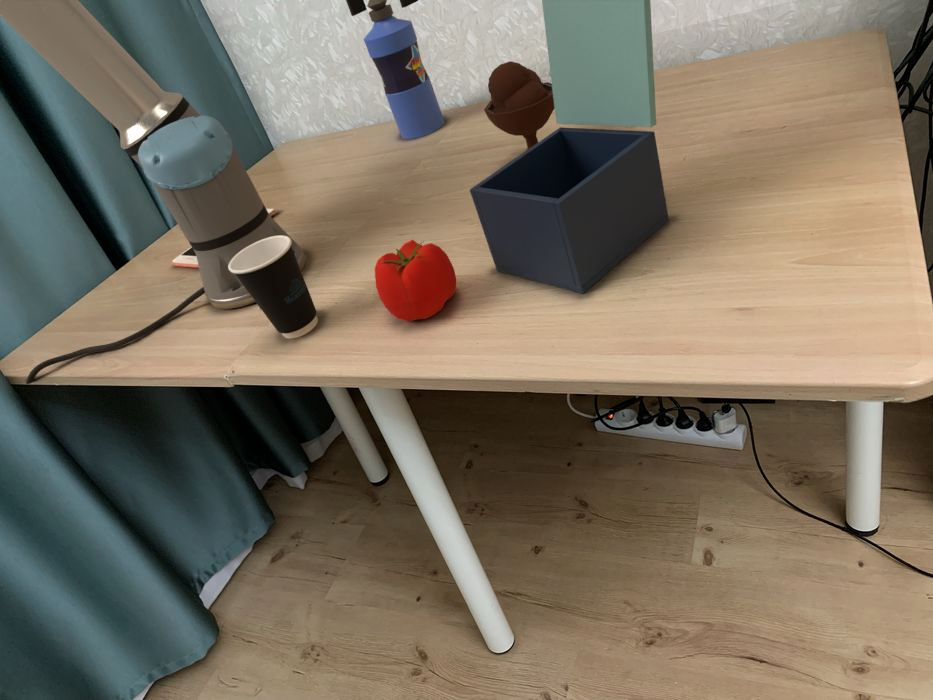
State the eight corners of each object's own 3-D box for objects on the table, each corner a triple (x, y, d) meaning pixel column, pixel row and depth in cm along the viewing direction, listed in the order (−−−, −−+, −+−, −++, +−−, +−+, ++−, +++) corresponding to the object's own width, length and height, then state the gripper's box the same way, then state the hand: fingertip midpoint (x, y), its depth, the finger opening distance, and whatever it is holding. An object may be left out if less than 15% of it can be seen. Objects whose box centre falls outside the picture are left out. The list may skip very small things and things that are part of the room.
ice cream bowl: (575, 159, 102) (550, 56, 94) (502, 181, 104) (472, 82, 96) (568, 135, 111) (545, 38, 102) (500, 155, 113) (472, 63, 104)
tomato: (475, 287, 82) (455, 232, 77) (435, 334, 76) (411, 277, 72) (414, 284, 87) (393, 232, 83) (373, 327, 82) (347, 274, 78)
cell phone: (277, 212, 125) (275, 208, 124) (202, 268, 114) (199, 263, 114) (247, 212, 130) (245, 208, 130) (173, 266, 120) (170, 261, 119)
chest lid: (641, -52, 65) (647, -53, 66) (538, -32, 75) (544, -34, 76) (650, 127, 73) (656, 125, 74) (556, 123, 83) (561, 121, 84)
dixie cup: (275, 320, 91) (234, 248, 85) (331, 301, 91) (294, 227, 84) (267, 354, 85) (221, 279, 79) (327, 334, 84) (286, 256, 78)
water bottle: (394, 143, 136) (342, 9, 122) (409, 124, 143) (362, -4, 129) (436, 133, 132) (388, -5, 119) (450, 114, 139) (406, -19, 125)
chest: (583, 294, 73) (559, 203, 67) (496, 270, 83) (469, 189, 77) (669, 220, 80) (654, 131, 74) (579, 206, 90) (560, 127, 84)
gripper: (402, -185, 89) (452, -9, 101) (305, -137, 107) (357, 8, 119) (357, -171, 86) (415, 9, 98) (265, -124, 104) (323, 24, 115)
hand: (383, 9), depth 108 cm, fingers open, 13 cm apart
